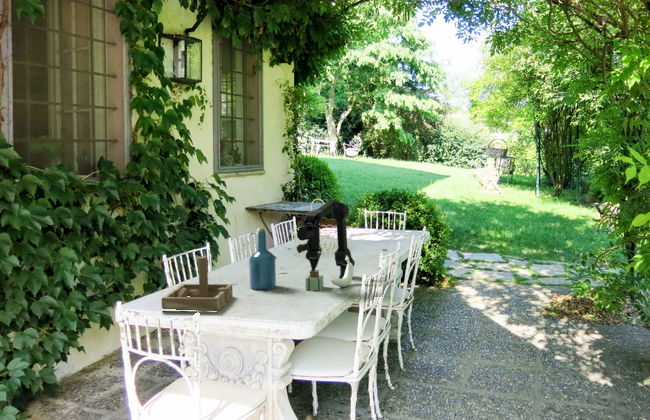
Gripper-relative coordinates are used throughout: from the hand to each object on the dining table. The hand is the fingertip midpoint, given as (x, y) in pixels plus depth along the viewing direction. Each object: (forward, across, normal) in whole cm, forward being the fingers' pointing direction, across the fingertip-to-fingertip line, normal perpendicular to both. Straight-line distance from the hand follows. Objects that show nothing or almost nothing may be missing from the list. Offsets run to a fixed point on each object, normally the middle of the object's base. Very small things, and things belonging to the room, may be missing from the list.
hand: (314, 269), depth 284 cm
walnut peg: (+10, 0, 0) cm, 10 cm away
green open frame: (+10, 0, 0) cm, 10 cm away
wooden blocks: (+10, +31, -49) cm, 59 cm away
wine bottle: (+10, -2, -26) cm, 28 cm away
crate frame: (+10, +31, -49) cm, 59 cm away
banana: (+10, -5, +14) cm, 18 cm away
